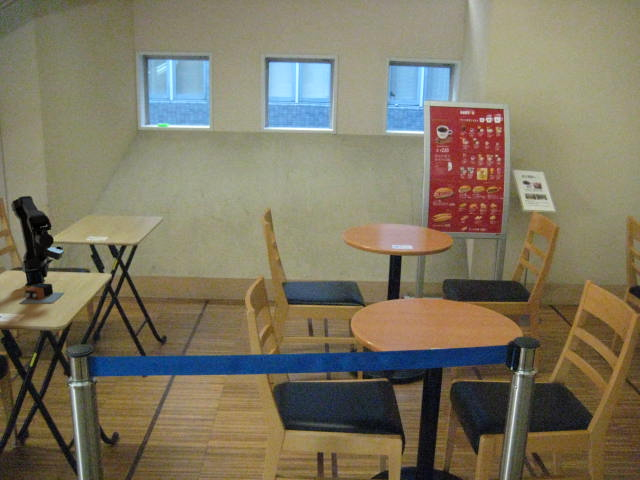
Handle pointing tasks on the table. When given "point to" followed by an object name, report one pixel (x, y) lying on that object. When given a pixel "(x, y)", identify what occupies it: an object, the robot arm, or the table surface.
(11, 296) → the table surface
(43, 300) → the mat
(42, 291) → the battery
